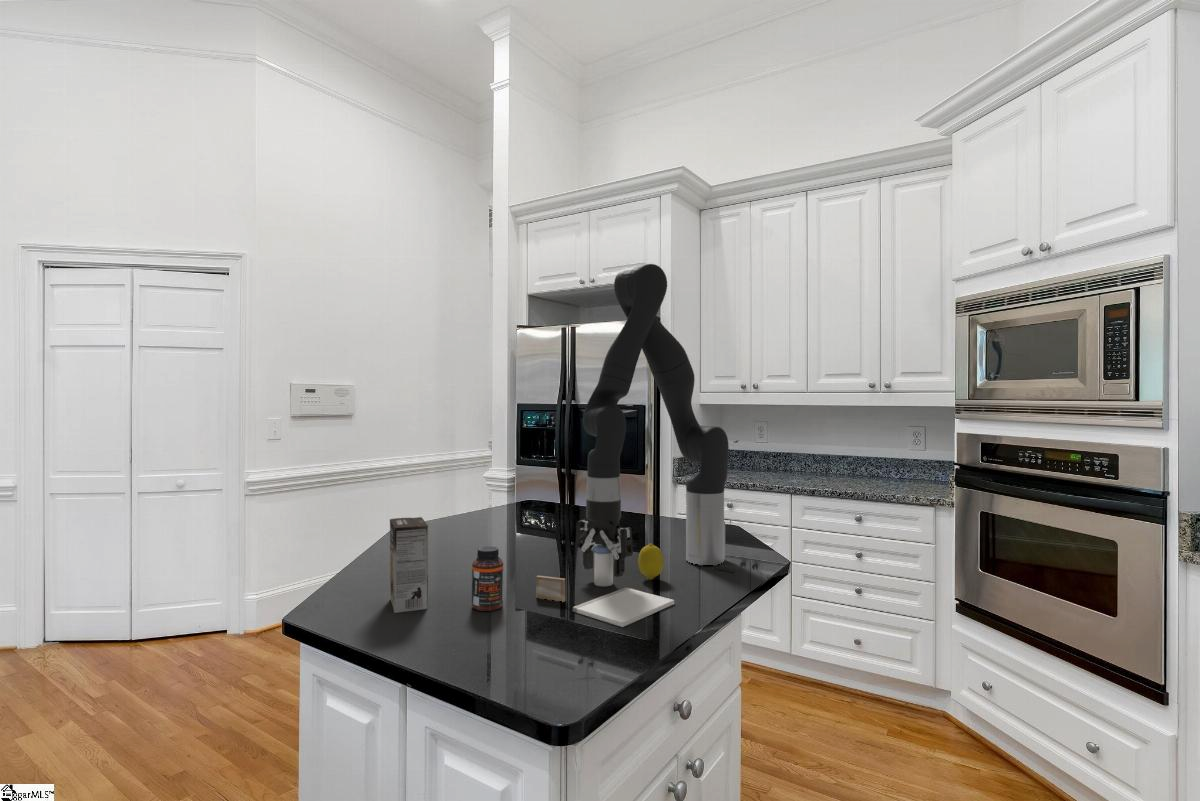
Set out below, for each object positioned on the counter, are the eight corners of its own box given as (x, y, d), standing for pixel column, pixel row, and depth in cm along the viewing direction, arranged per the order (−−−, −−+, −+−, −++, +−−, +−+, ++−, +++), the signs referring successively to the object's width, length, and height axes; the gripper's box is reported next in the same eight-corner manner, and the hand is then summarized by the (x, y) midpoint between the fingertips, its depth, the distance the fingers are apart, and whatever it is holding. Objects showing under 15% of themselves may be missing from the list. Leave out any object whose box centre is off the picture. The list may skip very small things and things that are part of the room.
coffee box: (389, 599, 124) (389, 518, 123) (422, 595, 126) (422, 515, 126) (393, 613, 115) (393, 527, 115) (428, 609, 118) (428, 524, 118)
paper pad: (626, 591, 129) (626, 587, 129) (674, 604, 121) (674, 599, 121) (572, 611, 116) (572, 607, 116) (622, 627, 109) (622, 622, 109)
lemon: (662, 584, 133) (662, 547, 133) (636, 582, 135) (636, 545, 135) (664, 576, 139) (664, 541, 139) (640, 575, 140) (640, 540, 140)
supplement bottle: (476, 614, 115) (476, 553, 115) (468, 604, 120) (467, 546, 120) (507, 609, 118) (507, 549, 118) (497, 600, 123) (497, 543, 123)
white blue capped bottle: (602, 579, 137) (602, 542, 137) (617, 583, 134) (617, 545, 134) (589, 583, 134) (589, 545, 134) (604, 587, 131) (604, 549, 131)
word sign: (537, 597, 125) (538, 575, 125) (565, 600, 123) (565, 578, 123) (536, 598, 124) (536, 576, 124) (563, 602, 122) (563, 579, 122)
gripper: (640, 498, 132) (640, 574, 132) (590, 492, 141) (590, 563, 141) (618, 503, 126) (617, 582, 126) (567, 495, 136) (567, 569, 136)
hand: (603, 572), depth 134 cm, fingers open, 8 cm apart
